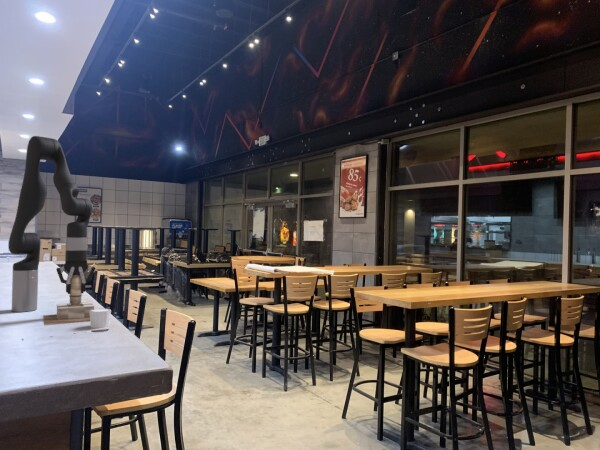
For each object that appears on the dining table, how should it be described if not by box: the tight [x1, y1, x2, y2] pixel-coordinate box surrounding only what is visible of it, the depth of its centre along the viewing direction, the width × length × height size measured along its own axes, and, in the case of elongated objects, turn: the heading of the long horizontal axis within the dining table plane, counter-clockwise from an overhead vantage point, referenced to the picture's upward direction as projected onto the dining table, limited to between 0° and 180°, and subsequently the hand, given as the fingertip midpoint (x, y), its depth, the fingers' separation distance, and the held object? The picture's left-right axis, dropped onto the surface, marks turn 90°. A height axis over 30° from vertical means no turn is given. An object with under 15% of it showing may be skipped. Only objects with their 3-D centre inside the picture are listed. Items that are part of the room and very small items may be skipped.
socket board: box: [42, 301, 95, 326], centre depth 161 cm, size 20×17×6 cm
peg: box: [69, 275, 83, 307], centre depth 166 cm, size 4×4×12 cm
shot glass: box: [89, 308, 112, 333], centre depth 149 cm, size 7×7×7 cm
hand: (75, 293), depth 166 cm, fingers closed on peg, 4 cm apart
